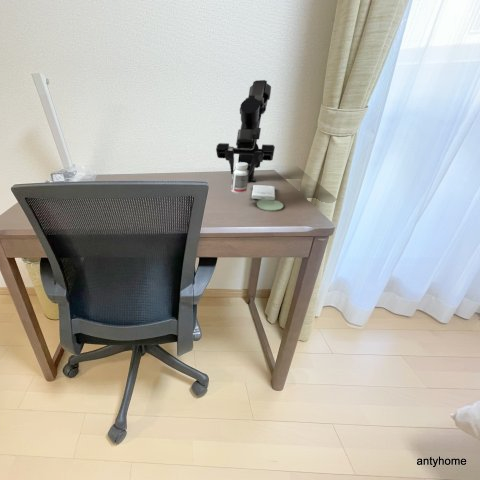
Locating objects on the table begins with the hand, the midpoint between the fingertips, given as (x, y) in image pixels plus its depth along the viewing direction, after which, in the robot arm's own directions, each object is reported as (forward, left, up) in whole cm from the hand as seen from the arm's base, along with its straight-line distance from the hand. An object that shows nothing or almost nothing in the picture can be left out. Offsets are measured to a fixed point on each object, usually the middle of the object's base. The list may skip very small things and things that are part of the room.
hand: (240, 174), depth 87 cm
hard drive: (-11, +12, -12) cm, 20 cm away
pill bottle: (-1, +1, -7) cm, 7 cm away
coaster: (-1, +12, -12) cm, 17 cm away
